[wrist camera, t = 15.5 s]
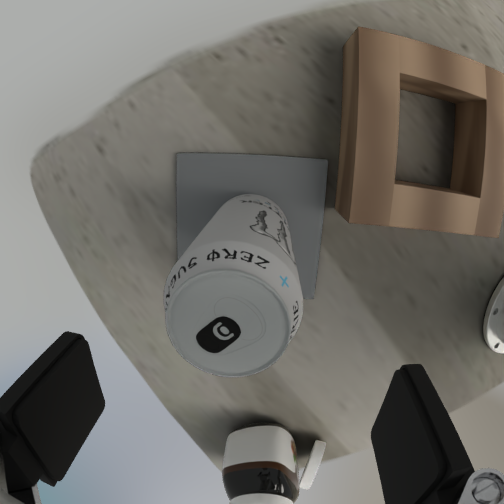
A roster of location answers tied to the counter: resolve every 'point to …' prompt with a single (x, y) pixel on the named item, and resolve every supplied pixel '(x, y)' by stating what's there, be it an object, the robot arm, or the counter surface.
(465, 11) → the counter surface
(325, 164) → the rubber mat
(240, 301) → the energy drink can
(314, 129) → the counter surface
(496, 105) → the walnut frame
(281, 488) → the spread jar
